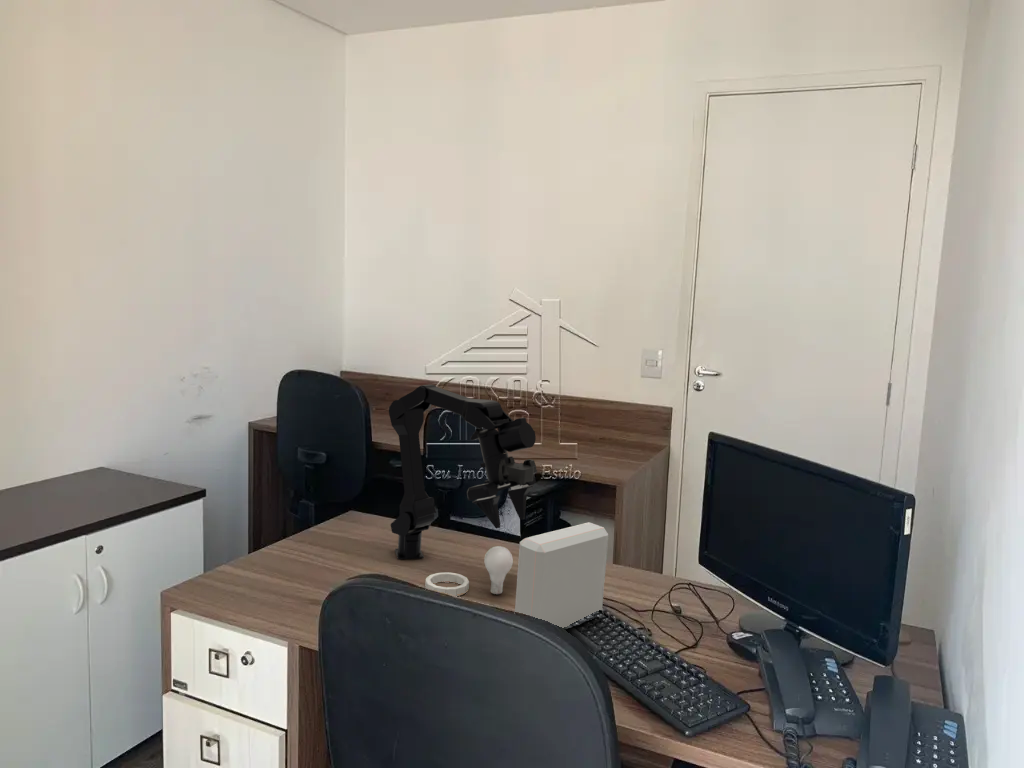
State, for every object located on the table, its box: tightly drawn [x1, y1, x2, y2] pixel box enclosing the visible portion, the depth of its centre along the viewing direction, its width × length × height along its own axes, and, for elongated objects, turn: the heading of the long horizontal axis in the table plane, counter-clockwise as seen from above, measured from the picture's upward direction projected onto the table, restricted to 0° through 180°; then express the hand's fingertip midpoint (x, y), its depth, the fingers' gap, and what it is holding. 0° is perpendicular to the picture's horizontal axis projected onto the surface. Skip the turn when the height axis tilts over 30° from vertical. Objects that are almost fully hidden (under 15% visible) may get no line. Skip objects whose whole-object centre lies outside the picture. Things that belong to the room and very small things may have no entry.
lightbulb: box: [483, 545, 514, 596], centre depth 168 cm, size 6×6×11 cm
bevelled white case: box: [514, 521, 609, 628], centre depth 154 cm, size 21×8×20 cm, turn 133°
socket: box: [424, 571, 470, 596], centre depth 170 cm, size 10×10×2 cm
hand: (510, 523), depth 170 cm, fingers open, 9 cm apart
